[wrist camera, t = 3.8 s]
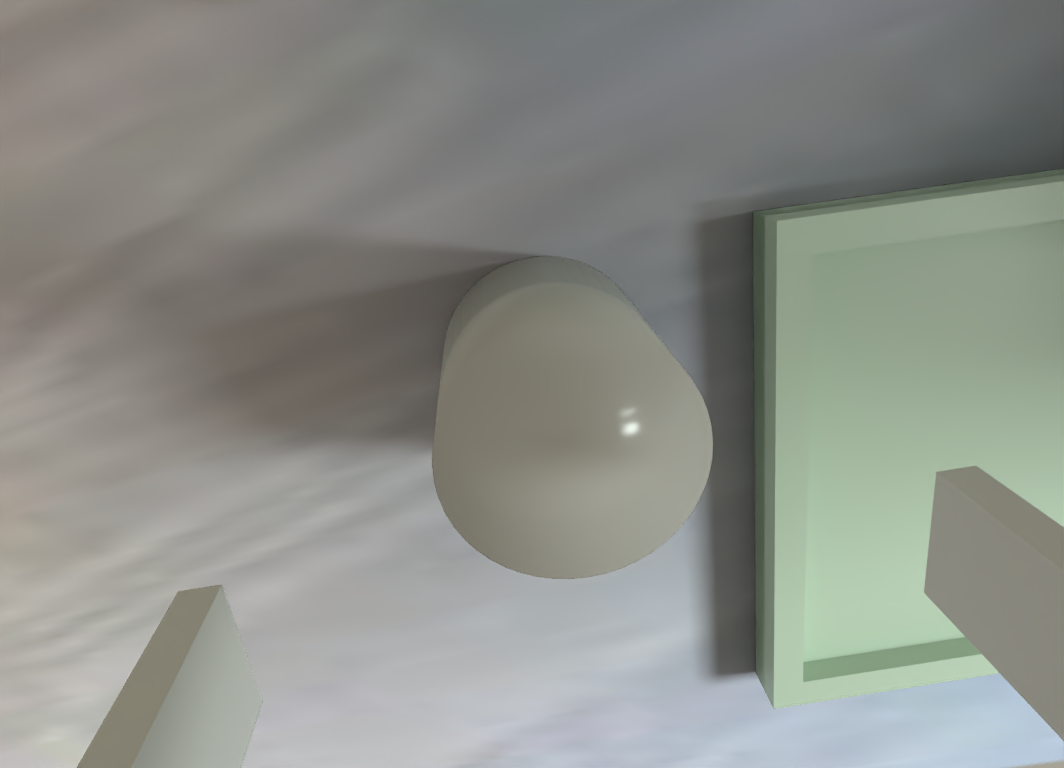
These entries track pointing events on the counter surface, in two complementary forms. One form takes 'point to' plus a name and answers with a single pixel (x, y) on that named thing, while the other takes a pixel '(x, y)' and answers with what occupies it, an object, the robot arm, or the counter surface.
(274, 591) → the counter surface
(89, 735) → the counter surface
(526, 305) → the cream rounded capsule
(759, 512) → the tray
